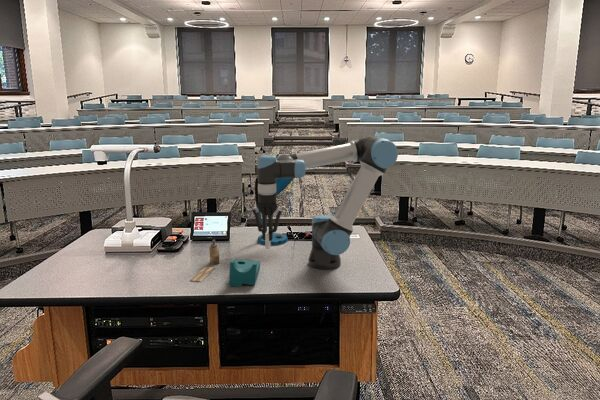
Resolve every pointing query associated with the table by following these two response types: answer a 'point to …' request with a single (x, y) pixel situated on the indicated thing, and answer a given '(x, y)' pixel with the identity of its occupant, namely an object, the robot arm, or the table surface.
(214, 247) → the awl
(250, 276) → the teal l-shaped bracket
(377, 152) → the robot arm
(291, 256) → the table surface
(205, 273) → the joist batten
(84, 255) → the table surface
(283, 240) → the desk lamp
